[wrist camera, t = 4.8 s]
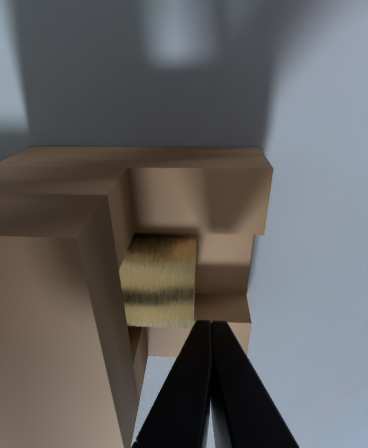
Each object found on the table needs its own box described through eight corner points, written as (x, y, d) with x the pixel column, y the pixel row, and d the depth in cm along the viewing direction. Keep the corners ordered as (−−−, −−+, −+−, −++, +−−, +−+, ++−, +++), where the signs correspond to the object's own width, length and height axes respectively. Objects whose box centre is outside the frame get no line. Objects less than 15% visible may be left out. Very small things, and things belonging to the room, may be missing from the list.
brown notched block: (259, 147, 10) (321, 242, 5) (239, 316, 14) (262, 472, 9) (30, 146, 10) (-147, 233, 5) (74, 310, 14) (-1, 455, 9)
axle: (196, 222, 11) (193, 276, 8) (195, 286, 12) (192, 349, 9) (-67, 216, 11) (-150, 264, 8) (-37, 278, 13) (-101, 335, 10)
